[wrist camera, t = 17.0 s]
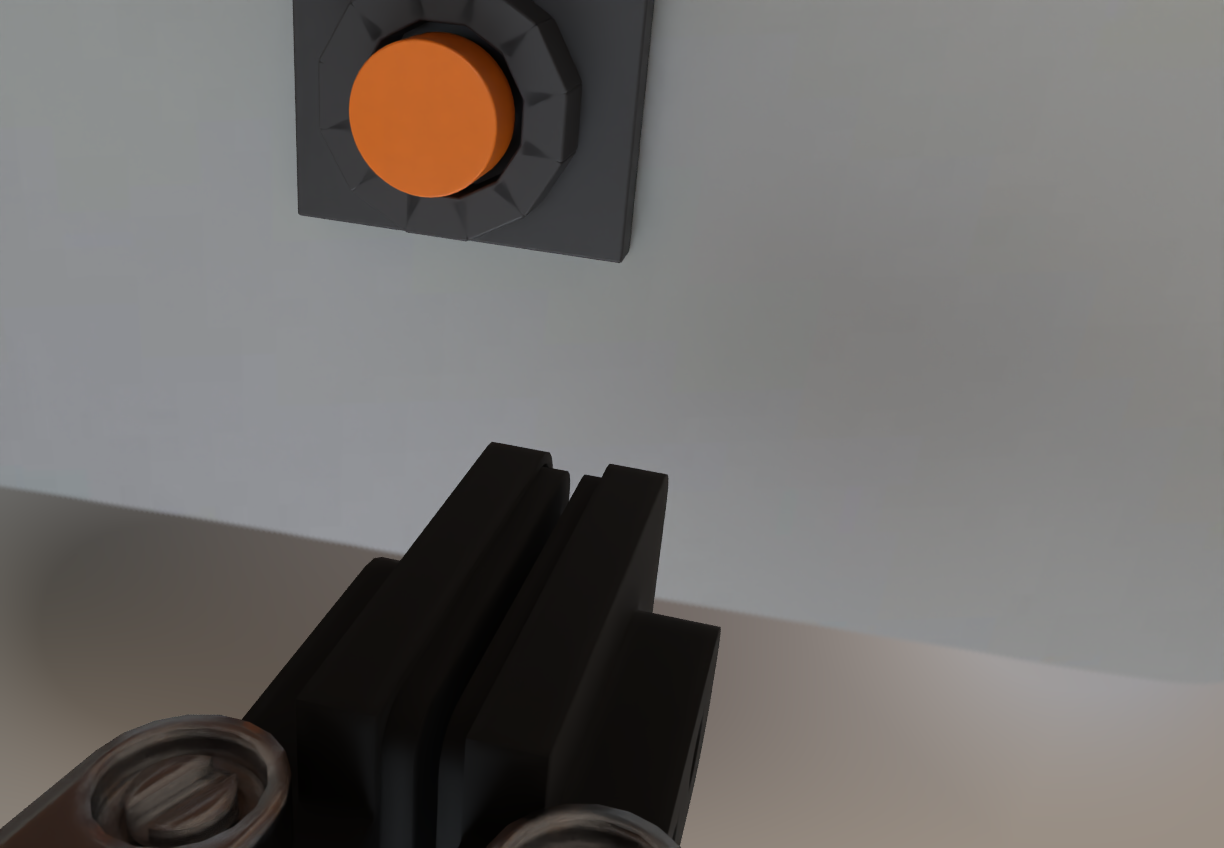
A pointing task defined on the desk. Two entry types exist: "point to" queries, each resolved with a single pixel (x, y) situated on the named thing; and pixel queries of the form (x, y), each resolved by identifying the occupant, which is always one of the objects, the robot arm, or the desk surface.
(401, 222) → the control block
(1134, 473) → the desk surface
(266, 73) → the desk surface
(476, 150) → the button
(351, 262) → the desk surface
